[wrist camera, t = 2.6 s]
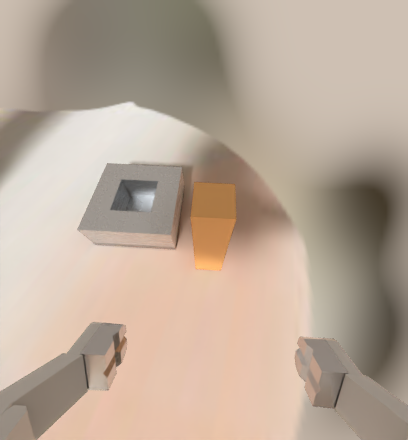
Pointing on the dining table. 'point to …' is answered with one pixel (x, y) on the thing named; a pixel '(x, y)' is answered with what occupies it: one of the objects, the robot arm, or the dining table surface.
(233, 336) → the dining table surface
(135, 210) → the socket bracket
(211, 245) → the rectangular peg
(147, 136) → the dining table surface
